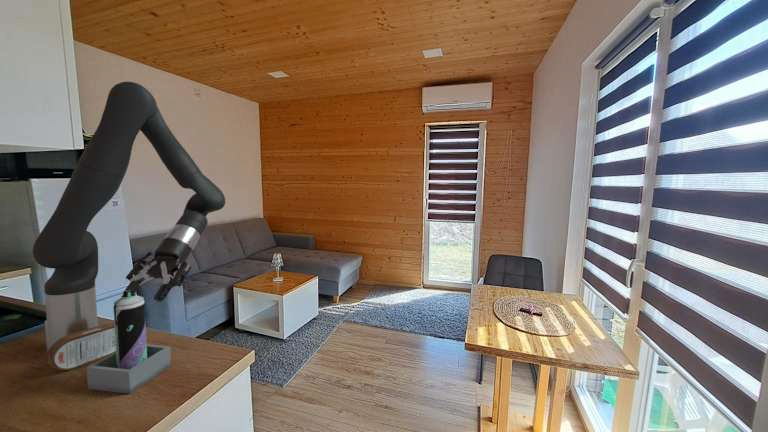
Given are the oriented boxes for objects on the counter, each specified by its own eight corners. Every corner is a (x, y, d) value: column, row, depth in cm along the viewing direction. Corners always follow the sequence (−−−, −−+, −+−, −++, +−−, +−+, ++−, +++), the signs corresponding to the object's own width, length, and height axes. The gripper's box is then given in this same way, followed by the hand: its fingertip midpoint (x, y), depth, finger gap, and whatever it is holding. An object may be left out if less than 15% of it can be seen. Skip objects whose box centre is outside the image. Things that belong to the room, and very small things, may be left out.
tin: (125, 345, 83) (124, 317, 82) (130, 348, 82) (129, 319, 81) (46, 374, 70) (44, 340, 69) (51, 378, 68) (48, 344, 68)
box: (87, 388, 65) (86, 367, 65) (133, 361, 76) (132, 342, 75) (130, 393, 64) (129, 372, 64) (171, 365, 74) (170, 346, 74)
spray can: (130, 380, 67) (125, 295, 65) (111, 376, 68) (106, 293, 66) (153, 366, 72) (149, 287, 70) (135, 363, 73) (131, 285, 71)
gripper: (146, 235, 80) (104, 290, 70) (194, 237, 78) (157, 294, 68) (164, 250, 86) (127, 303, 75) (209, 253, 84) (177, 307, 74)
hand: (141, 299), depth 72 cm, fingers open, 8 cm apart
